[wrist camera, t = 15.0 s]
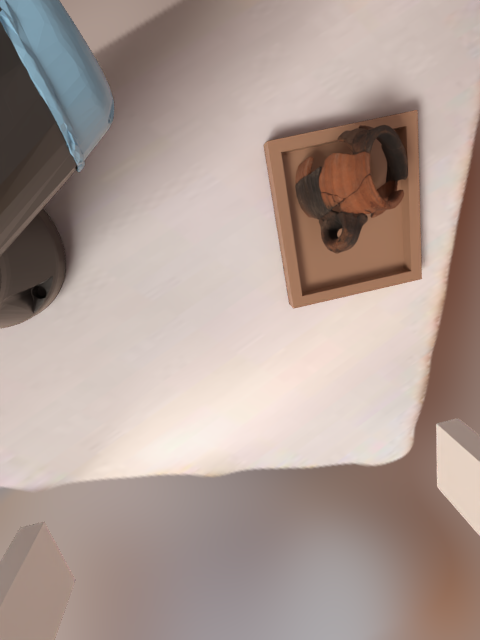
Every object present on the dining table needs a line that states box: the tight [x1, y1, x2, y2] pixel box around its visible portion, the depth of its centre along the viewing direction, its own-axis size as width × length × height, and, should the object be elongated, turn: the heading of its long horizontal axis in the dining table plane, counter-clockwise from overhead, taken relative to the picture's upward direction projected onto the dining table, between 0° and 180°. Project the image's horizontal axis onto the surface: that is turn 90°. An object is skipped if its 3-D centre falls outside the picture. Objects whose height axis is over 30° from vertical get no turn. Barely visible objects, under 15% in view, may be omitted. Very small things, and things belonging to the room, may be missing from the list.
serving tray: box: [264, 110, 422, 308], centre depth 36 cm, size 15×17×2 cm
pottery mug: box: [295, 125, 408, 254], centre depth 33 cm, size 12×10×8 cm
